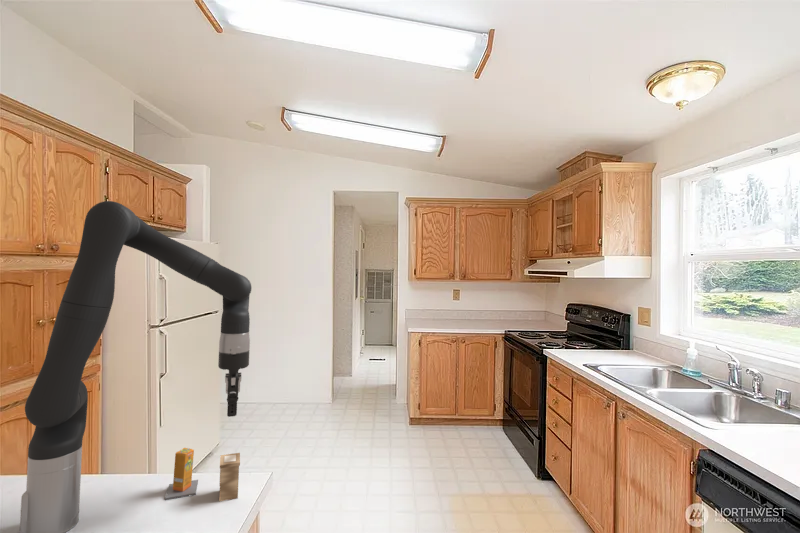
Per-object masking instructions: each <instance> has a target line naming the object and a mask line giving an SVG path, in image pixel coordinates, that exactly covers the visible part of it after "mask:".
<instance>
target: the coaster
mask: <svg viewBox="0 0 800 533" xmlns="http://www.w3.org/2000/svg"><path fill="white" fill-rule="evenodd" d="M198 485H199V479H194V480H193V479H192V481H191V486H190V487H189V488H187V489H186V490H185V491H183V492H180V491H175V490H173V483H170V484H168V487H167V490H166V494H165V498H164V500H165V501H169V500H174V499H180V498H186V497H190V496H189V495H192V496H196V495H197V489H198Z"/></svg>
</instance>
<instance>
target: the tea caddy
mask: <svg viewBox="0 0 800 533" xmlns="http://www.w3.org/2000/svg"><path fill="white" fill-rule="evenodd" d="M219 457H220V459H219V469H220V470H219V496H218V497H219V498H218V499H219V500H218V502H224V501H229V500H235V499H238V498H239V478H240V476H239V474H240V466H241V453H240V452H235V453H228V454H222V455H220V456H219Z"/></svg>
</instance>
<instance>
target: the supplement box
mask: <svg viewBox="0 0 800 533" xmlns="http://www.w3.org/2000/svg"><path fill="white" fill-rule="evenodd" d="M194 451H195V449H193V448H189V447H183V448H181V449H180V450H179V451H176V452H175V455H174V456H175V457H174V467H173V468H174V469H173V481H172V482H173V483H172V484H173V490H175V491H180V492H183V491H185V490H186V489H187V488H189V487H190V486H191V481H193V477H192V476H193V466H194V454H195V452H194Z"/></svg>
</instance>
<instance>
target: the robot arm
mask: <svg viewBox="0 0 800 533" xmlns="http://www.w3.org/2000/svg"><path fill="white" fill-rule="evenodd" d="M83 223H84V224H83V229H82V235H81V241H80V245H79V249H78V250H79V251H78V255H77V258H76V261H75V262H74V263H75V264H74V265H73V269H72V271H71V273H70V275H69V279H68V281H67V285H66V287H65V290H64V292H63V295H62V298H61V302H60V304H59V306H58V310H57V312H56V316H55V320H54V324H53V328H52V331H51V335H50V339H49V342H48V345H47V350H46V353H45V358H44V361H43V363H42V366H41V369H40V371H39V373H38V375H37V377H36V378H35V381H34V384H33V386H32V388H31V390H30V392H29V393H28V397H27V399H26V401H25V405H24V413H25V417H26V419H27V420H28V421H29V423H30V424H32V425H33V426H34V427H35V429H34V432H33V435H32V437H31V439H30V442H29V444H28V448H27V449H28V450H27V472H26V488H25V489H26V490H25V491H24V492H23V494H21V499H20V502H21V503H20V520H19V521H20V523H19V533H66V532H67V531H70V530H71V529H72V528H74V527H75V526H76V525H77V524H78V522H79V520H80V519H79V518H80V503H81V502H80V500H81V499H80V498H81V482H82V481H81V480H82V460H83V459H82V457H83V440H84V434H85V431H86V426H87V415H88V402H89V400H88V399H89V395H88V393H89V392H88V388H87V386H86V384H85V383H84V382H83V381H82V378H83V373H84V372H85V371H84V370H85V367H86V365H87V362H88V360H89V358H90V356H91V354H92V352H93V350H94V349H95V347H96V345H97V343H98V342H99V340H100V338H101V337H102V335H103V332H104V330H105V328H106V325H107V322H108V319H109V317H110V313H111V311H112V310H111V309H112V306H113V303H114V297H115V289H116V268H117V265H118V264H117V263H118V261H119V260H118V259H119V257H120V254H121V252H122V250H123V247H124V246H125V247H129V248H132V249H135V250H137V251H140V252H142V253H144V254H146V255H148V256H150V257H152V258H154V259H155V260H157V261H159V262H160V263H162V264H164V265H165V266H166V267H168V268H170V269H171V270H173V271H175V272H177V273H178V274H180V275H182V276H184V277H186V278H188V279H190V280H191V281H194V282H196V283H197V284H200V285H203V286H205V287H206V288H209V289H210V290H212V291H213V292H215V293H217V294H219V295H220V296H221V297H222V315H221V320H220V322H221V323H220V337H219V342H218V368H219V369H221V370H223V371H226V370H227V371H228V373H225V376H224V383H225V394H227V398H226V402H227V409H226V410H227V411H226V412H227V414H226V415H227V417H228V418H229V417H230V418H231V417H236V416H237V411H238V402H239V393H240V392H241V383H242V372H239V371H240V370H241V369H242V370H243V369H245V368H248V367H249V365H250V347H251V346H250V344H251V343H250V342H251V337H250V325H251V324H250V320H251V319H250V311H249V308H250V294H251V293H252V283H251V281H250V280H249V279H248V277H246V276H245V275H242V274H241V273H238V272H236V271H234V270H232V269H230V268H229V267H226V266H223V265H222V264H220V263H219V262H217V261H216V260H215V259H213V258H211V257H210V256H207V255H206V254H203V252H200V251H199V250H196V249H194V248H192V247H190V246H188V245H186V244H183V243H181V242H180V241H177V240H175V239H173V238H171V237H168V236H167V235H165V234H163V233H162V232H160V231H158V230H157V229H155V228H153V227H152V226H150V225H149V224H148V223H146V222H145V221H144V220H143V219H141V218H140V217H139V216H137V215H136V213H135V212H133V210H131V208H129V207H127V206H125V205H124V204H122V203H119V202H117V201H112V200H105V201H100V202H98V203H96V204H94V205H93V206H92V207H91V208H90V209H89V210H88V211H87V213H86V215H85V219H84V222H83Z"/></svg>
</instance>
